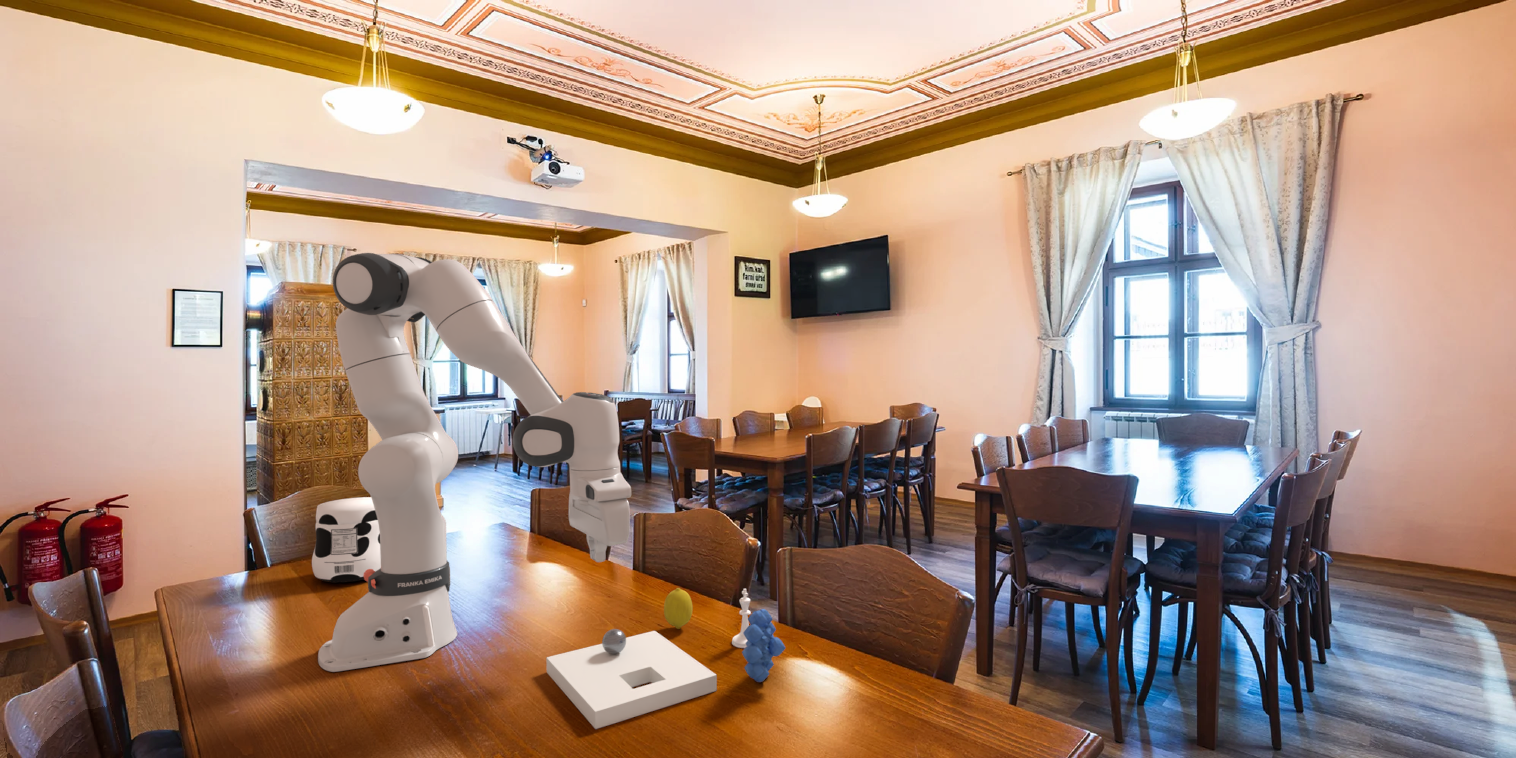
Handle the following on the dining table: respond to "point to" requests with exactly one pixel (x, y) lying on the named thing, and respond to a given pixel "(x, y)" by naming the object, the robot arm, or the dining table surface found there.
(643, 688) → the hole board
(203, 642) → the dining table surface
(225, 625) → the dining table surface
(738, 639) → the chess piece
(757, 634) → the grapes
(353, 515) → the milk container
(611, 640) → the steel ball
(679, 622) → the lemon
